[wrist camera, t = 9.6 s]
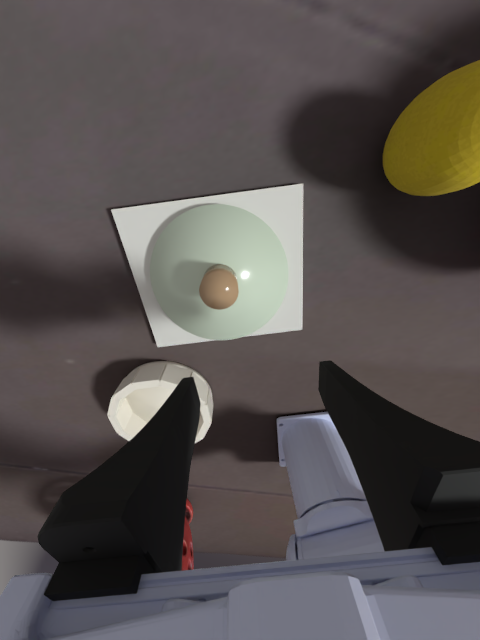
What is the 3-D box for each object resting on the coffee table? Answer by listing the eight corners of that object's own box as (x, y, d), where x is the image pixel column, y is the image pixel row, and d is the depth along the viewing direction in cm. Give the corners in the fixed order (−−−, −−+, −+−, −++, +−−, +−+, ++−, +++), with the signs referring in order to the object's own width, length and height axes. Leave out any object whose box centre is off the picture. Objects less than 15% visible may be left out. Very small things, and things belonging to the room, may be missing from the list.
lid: (283, 333, 21) (292, 352, 18) (166, 340, 21) (156, 360, 18) (290, 201, 16) (303, 198, 14) (137, 207, 16) (117, 207, 13)
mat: (300, 326, 22) (302, 329, 21) (159, 343, 22) (157, 347, 22) (300, 184, 16) (303, 183, 16) (114, 209, 17) (111, 209, 16)
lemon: (344, 174, 16) (432, 147, 9) (398, 82, 14) (569, -47, 7) (399, 212, 18) (514, 214, 10) (457, 133, 15) (653, 67, 8)
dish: (219, 422, 27) (217, 445, 25) (138, 431, 28) (128, 455, 25) (203, 355, 23) (199, 374, 20) (107, 366, 23) (91, 387, 20)
